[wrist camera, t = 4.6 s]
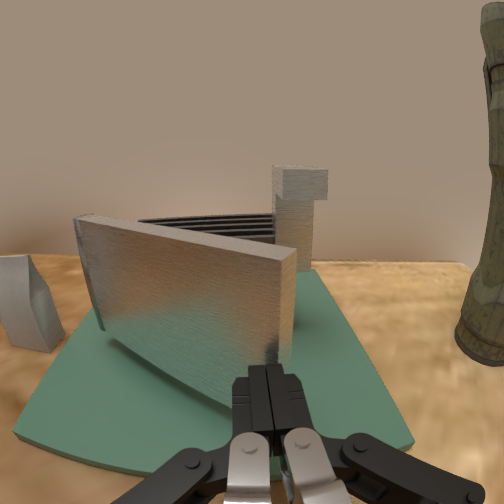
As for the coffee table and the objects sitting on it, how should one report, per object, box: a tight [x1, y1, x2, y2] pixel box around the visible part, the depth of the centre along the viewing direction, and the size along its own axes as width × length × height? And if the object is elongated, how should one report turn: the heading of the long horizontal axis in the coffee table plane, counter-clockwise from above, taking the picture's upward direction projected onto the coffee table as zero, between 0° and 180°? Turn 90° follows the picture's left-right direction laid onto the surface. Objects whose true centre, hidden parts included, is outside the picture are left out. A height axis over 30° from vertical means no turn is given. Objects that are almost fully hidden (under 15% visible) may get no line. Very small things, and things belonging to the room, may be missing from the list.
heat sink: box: [12, 165, 415, 481], centre depth 22 cm, size 28×28×16 cm
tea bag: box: [0, 255, 65, 353], centre depth 21 cm, size 4×7×10 cm, turn 92°
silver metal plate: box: [73, 214, 297, 408], centre depth 17 cm, size 18×2×10 cm, turn 59°
